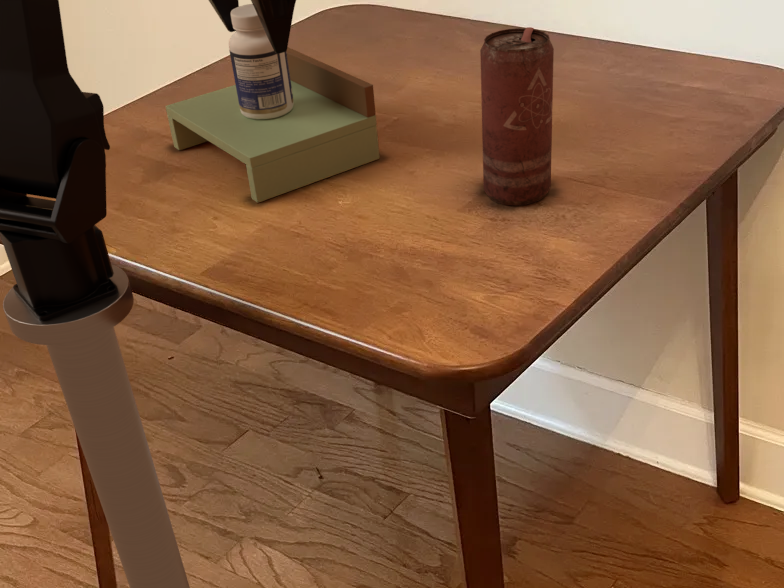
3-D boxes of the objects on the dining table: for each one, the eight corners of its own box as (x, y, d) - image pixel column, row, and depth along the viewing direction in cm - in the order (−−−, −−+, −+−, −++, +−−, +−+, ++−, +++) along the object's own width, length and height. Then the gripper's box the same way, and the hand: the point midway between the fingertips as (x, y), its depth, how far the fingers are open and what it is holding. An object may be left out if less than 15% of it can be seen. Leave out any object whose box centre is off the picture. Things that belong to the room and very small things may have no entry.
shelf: (257, 203, 96) (244, 126, 91) (174, 147, 108) (158, 76, 103) (379, 158, 102) (373, 84, 97) (288, 110, 114) (278, 42, 109)
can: (557, 179, 96) (561, 25, 87) (542, 209, 91) (544, 51, 82) (494, 174, 97) (491, 23, 89) (476, 204, 93) (471, 48, 84)
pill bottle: (256, 98, 105) (240, -1, 99) (303, 102, 103) (290, 1, 97) (230, 118, 101) (212, 17, 95) (279, 123, 99) (263, 19, 93)
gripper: (365, -147, 86) (381, 42, 95) (256, -167, 98) (280, 2, 108) (249, -123, 81) (278, 73, 91) (149, -147, 93) (184, 28, 103)
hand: (256, 41), depth 98 cm, fingers open, 9 cm apart
